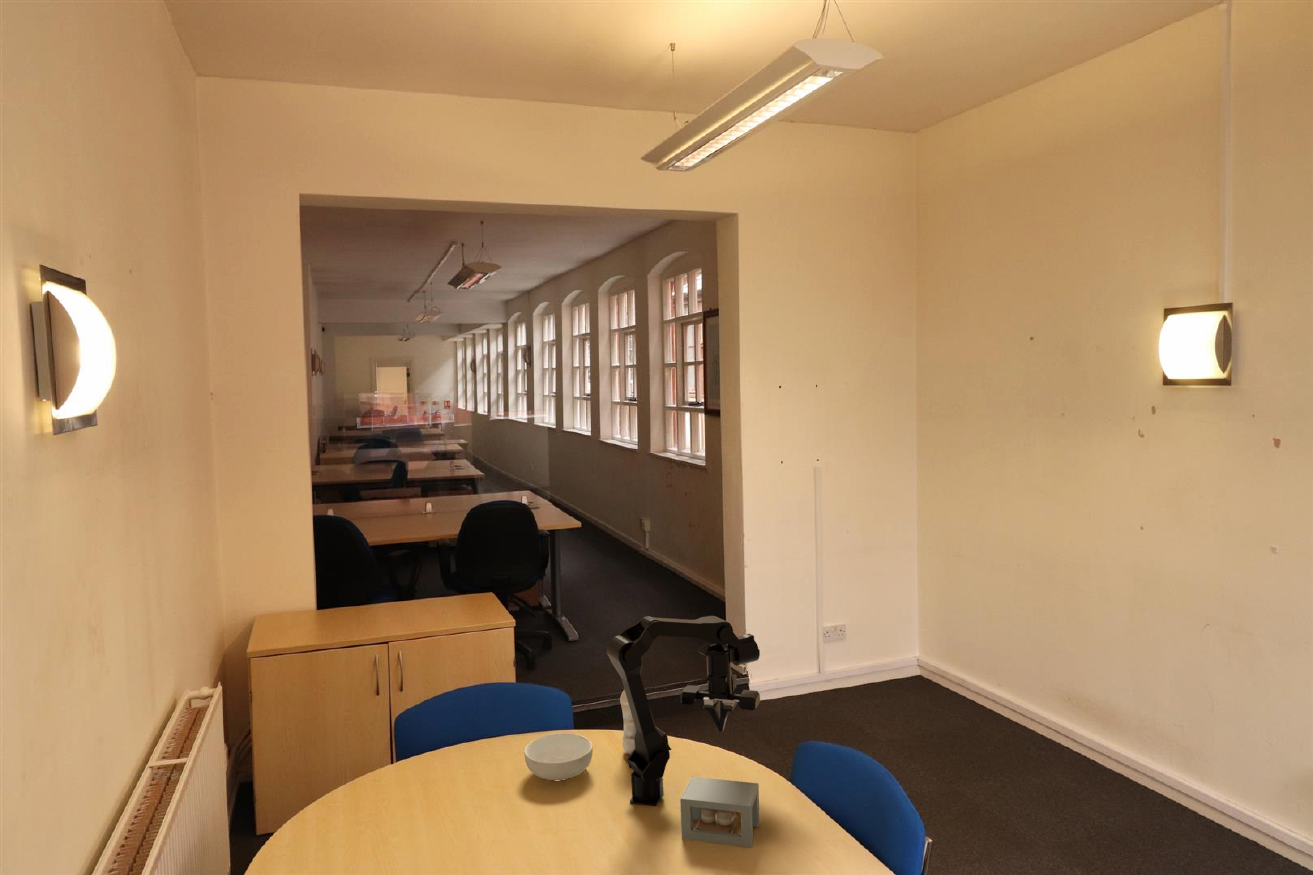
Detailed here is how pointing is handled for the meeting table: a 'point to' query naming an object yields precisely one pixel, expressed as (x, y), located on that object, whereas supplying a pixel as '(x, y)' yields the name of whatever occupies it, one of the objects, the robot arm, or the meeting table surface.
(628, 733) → the plastic bottle
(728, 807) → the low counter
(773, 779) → the meeting table surface
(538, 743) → the cereal bowl
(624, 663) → the robot arm
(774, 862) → the meeting table surface
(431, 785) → the meeting table surface
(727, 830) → the glasses tray
